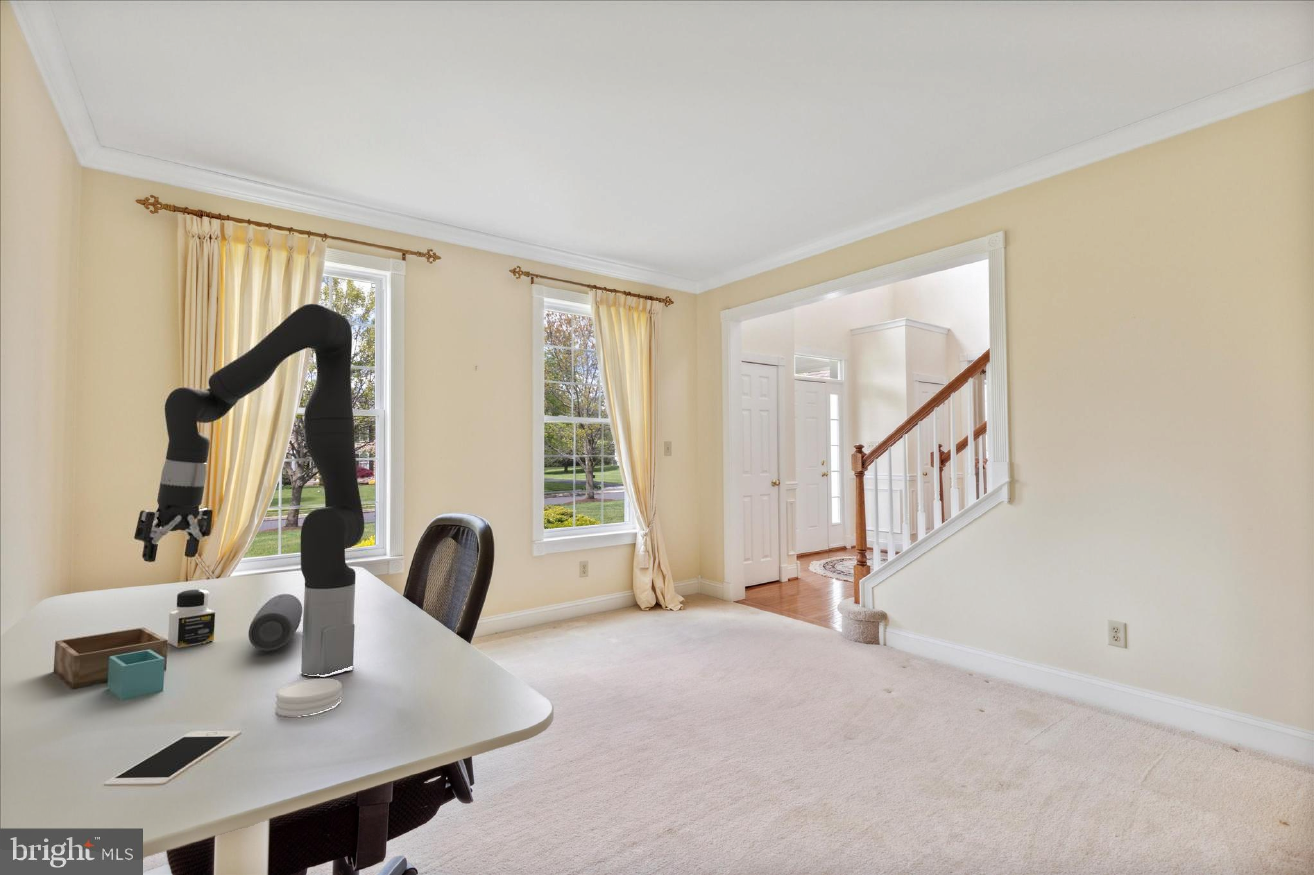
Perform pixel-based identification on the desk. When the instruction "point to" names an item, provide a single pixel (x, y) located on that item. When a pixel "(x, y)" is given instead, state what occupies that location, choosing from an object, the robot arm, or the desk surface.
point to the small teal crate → (136, 674)
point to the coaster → (308, 697)
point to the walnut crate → (101, 654)
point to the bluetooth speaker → (275, 622)
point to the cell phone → (173, 758)
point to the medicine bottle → (191, 619)
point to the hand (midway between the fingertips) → (170, 559)
